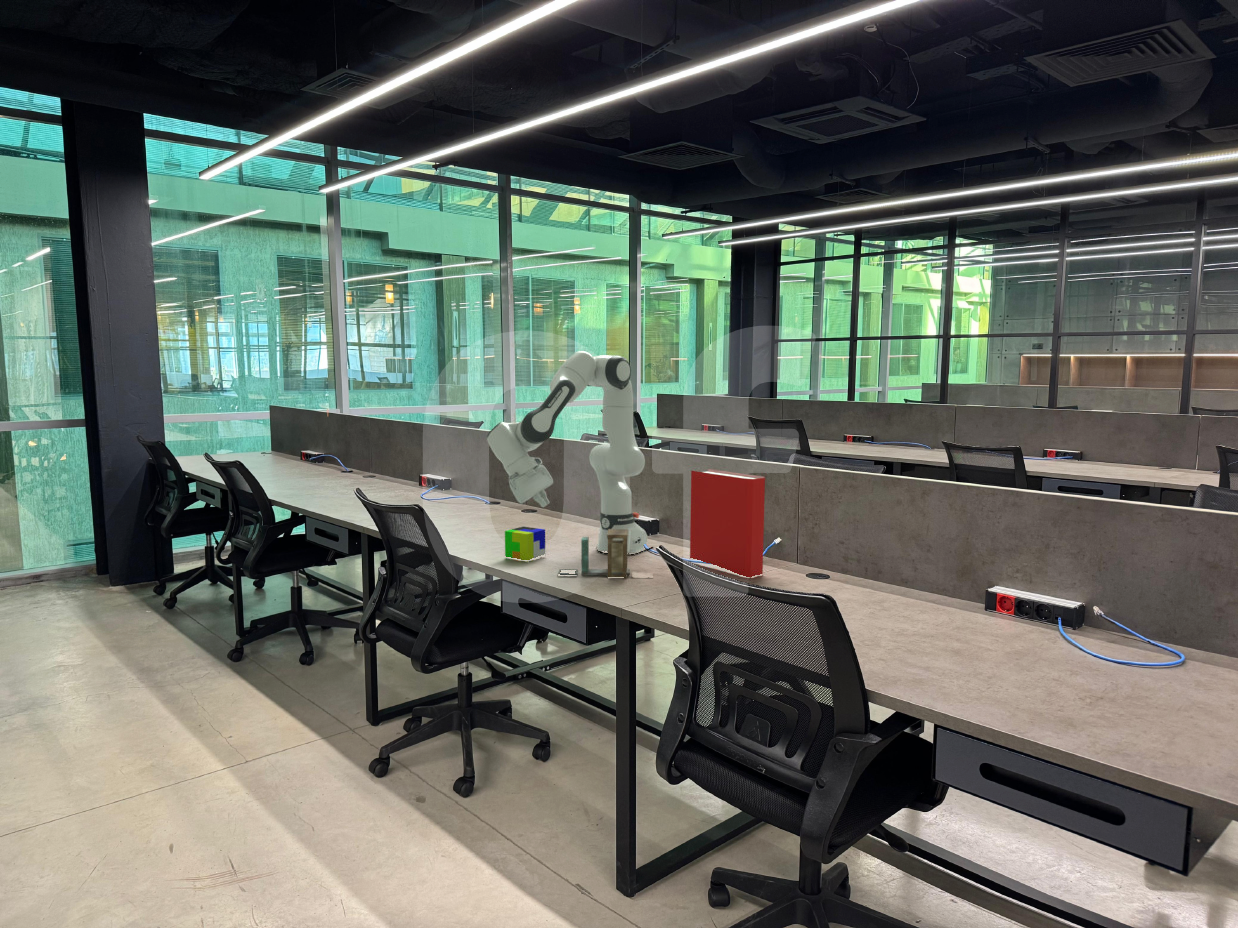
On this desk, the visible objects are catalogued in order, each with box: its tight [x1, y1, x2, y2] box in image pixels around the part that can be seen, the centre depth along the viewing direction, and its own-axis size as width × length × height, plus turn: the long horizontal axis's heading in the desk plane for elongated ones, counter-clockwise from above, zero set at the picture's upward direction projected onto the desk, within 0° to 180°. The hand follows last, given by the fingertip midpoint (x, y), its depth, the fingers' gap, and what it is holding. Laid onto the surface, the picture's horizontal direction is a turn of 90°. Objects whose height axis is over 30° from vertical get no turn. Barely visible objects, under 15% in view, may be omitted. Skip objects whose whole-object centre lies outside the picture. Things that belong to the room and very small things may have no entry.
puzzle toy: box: [504, 526, 546, 560], centre depth 278 cm, size 10×10×10 cm
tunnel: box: [607, 529, 628, 579], centre depth 255 cm, size 6×9×14 cm
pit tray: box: [557, 568, 579, 576], centre depth 256 cm, size 6×6×1 cm
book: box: [689, 468, 766, 577], centre depth 263 cm, size 27×8×32 cm, turn 37°
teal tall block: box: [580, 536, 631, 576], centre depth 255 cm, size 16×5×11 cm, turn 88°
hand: (546, 505), depth 252 cm, fingers closed
